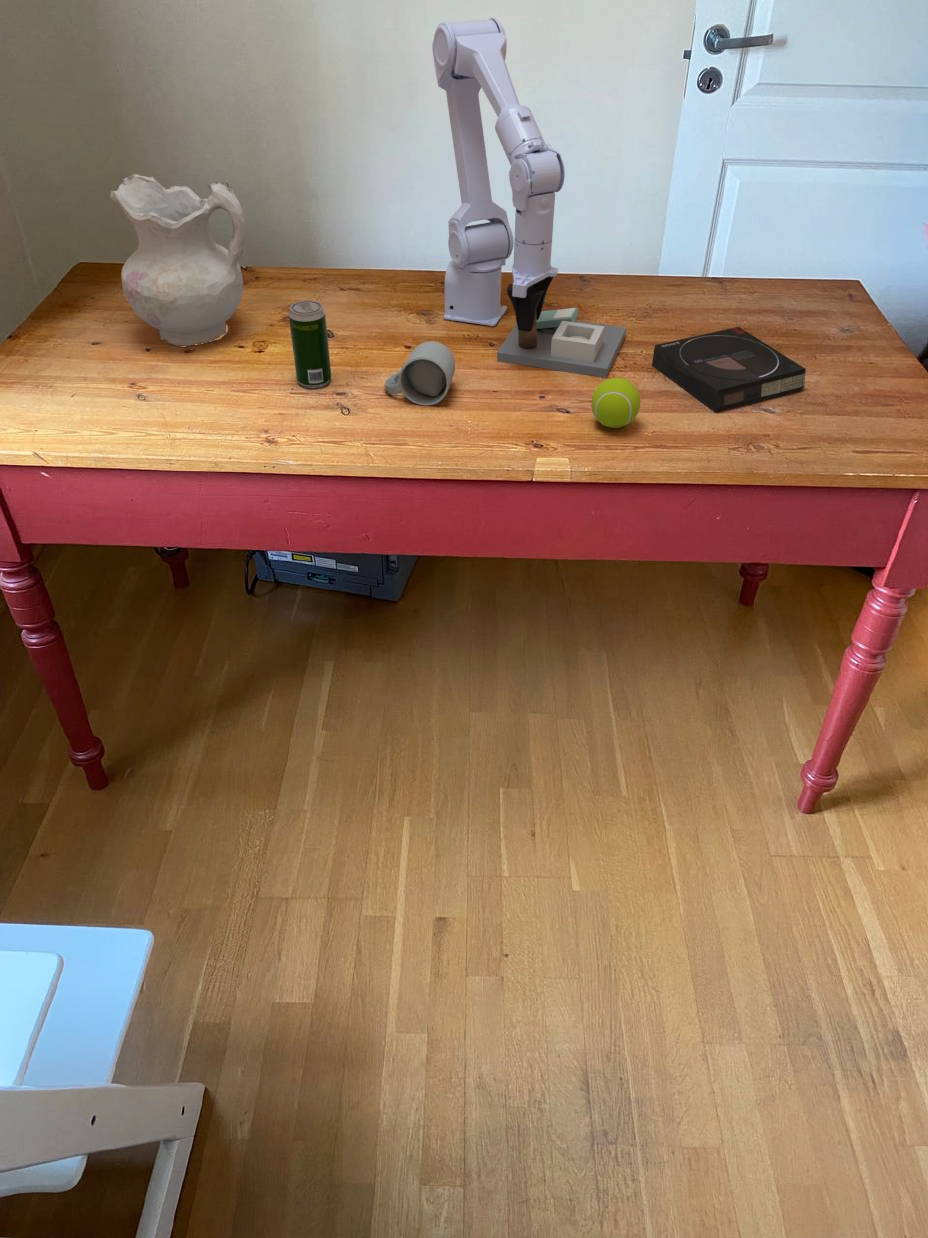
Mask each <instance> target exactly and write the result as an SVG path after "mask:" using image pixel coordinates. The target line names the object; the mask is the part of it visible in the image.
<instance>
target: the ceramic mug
mask: <svg viewBox="0 0 928 1238" xmlns="http://www.w3.org/2000/svg"><path fill="white" fill-rule="evenodd" d="M455 372H456V361H455V356H454V354H453V352H452V351H451V349H450V348H449V347H448V346H446V345H445V344H444V343H442V342H440V341H435V340H429V341H424V342H422V343H419V345H417V346H415V348H414V349H413V350H412V351H411V352H410V353H409V356H408V358H406V360H405V362H404V363H403V365H402V367H401V369H400V370H398V371H396V372H395V373H394V374H392V375H391V376H389V377H388V378H387V379H386V380H385V382H384V384H383V385H384V386H383V387H384V388H385V391H386V392H387V393H388V394H389V395H398V394H403V395H404V397H406V398H407V400H409V401H410V402H412V403H413V404H416V405H419V406H424V407H425V406H427V407H430V406H434V405H437V404H438V403H440V402H441V401H443V400H444V399H445V397H446V396H447V395H448V392H449V389H450V386H451V384H452V380H453V378H454V376H455Z"/></svg>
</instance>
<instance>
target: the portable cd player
mask: <svg viewBox="0 0 928 1238" xmlns="http://www.w3.org/2000/svg"><path fill="white" fill-rule="evenodd" d="M653 349H654V350H653V355H652V356H653V357H652V363H651V366H652V368H654V369H655V370H657V371H658V372H659V373H661V374H662V375H663V376H665V377H666V378H668V379H669V380H670V381H672V382H673V383H674V384H676V386H678V387H679V388H680V389H682V390H683V391H685V392H686V393H688V395H690V396H691V397H692V398H694V399H696V400H697V401H698V402H700V403H701V404H702V405H704V407H707V408H708V409H709V410H711V412H713V413H718V412H721V411H725V410H729V409H730V410H731V409H734V408H737V407H741V406H745V405H749V404H753V403H757V402H761V401H765V400H768V399H773V398H776V397H781V396H785V395H788V394H793V393H796V392H801V391H802V390H803V389H804V388H805V383H806V382H805V381H806V370H807V369H806V368H805V367H804V366H802V365H800V364H799V363H797V362H796V361H794V360H792V359H791V358H790V357H787V356H786V355H784V353H782V352H780V351H779V350H777V349H775V348H773V347H772V346H771V345H769V344H767V343H766V342H764V341H762V340H760V339H759V338H757V337H756V336H755V335H752V334H751V333H749V332H748V331H746V330H745V329H743V328H741V327H740V326H735V327H731V328H727V329H723V330H718V331H712V332H709V333H704V334H699V335H695V336H690V337H685V338H682V339H676V340H672V341H667V342H663V343H659V344H655V345H654V348H653Z"/></svg>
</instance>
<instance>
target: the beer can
mask: <svg viewBox="0 0 928 1238" xmlns="http://www.w3.org/2000/svg"><path fill="white" fill-rule="evenodd" d="M326 317H327V316H326V311H325V310H324V305H323V304H322V303H321V302H319V301H316V300H302V301H297V302H294V303H292V304H291V305H290V306H289V313H288V319H289V329H290V336H291V343H292V353H293V361H294V368H295V376H296V381H297V383H299V385H300V387H302V386H303V387H302V388H304V387H305V389H308V388H309V390H312V389H314V390H316V389H321V388H324V387H326V386H328V385H329V383H330V382H331V379H332V371H331V359H330V350H329V349H330V347H329V338H328V328H327V319H326Z"/></svg>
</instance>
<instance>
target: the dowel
mask: <svg viewBox="0 0 928 1238" xmlns="http://www.w3.org/2000/svg"><path fill="white" fill-rule="evenodd" d="M518 343H519V347H520V348H523V349H531V348H534V347H536V346H537V320H536V315H535V320H534V324H533V328H532V330H531V332H527V331H520V330H518Z"/></svg>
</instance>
